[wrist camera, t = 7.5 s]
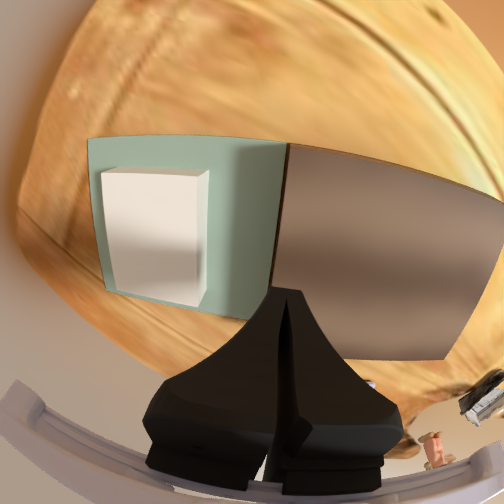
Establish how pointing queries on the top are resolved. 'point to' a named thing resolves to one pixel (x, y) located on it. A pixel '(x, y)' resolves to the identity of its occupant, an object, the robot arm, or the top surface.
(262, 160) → the sage mat
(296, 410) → the robot arm
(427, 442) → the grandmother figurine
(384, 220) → the plate
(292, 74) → the top surface
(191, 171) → the plate
